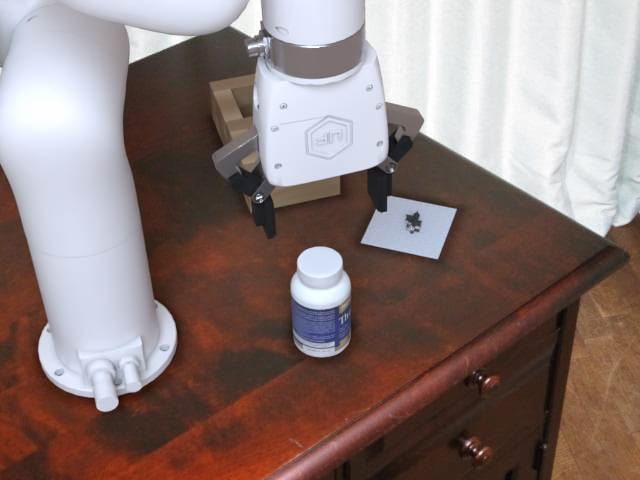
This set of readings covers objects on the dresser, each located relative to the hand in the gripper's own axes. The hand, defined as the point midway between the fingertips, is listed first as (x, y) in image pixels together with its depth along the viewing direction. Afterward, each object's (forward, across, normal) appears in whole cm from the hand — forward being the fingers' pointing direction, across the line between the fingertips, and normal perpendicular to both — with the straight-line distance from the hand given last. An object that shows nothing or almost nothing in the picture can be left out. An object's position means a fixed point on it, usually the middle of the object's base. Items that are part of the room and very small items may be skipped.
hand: (322, 215), depth 96 cm
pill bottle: (+15, -1, 0) cm, 15 cm away
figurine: (+15, +12, +12) cm, 23 cm away
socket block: (+15, +2, +28) cm, 32 cm away
